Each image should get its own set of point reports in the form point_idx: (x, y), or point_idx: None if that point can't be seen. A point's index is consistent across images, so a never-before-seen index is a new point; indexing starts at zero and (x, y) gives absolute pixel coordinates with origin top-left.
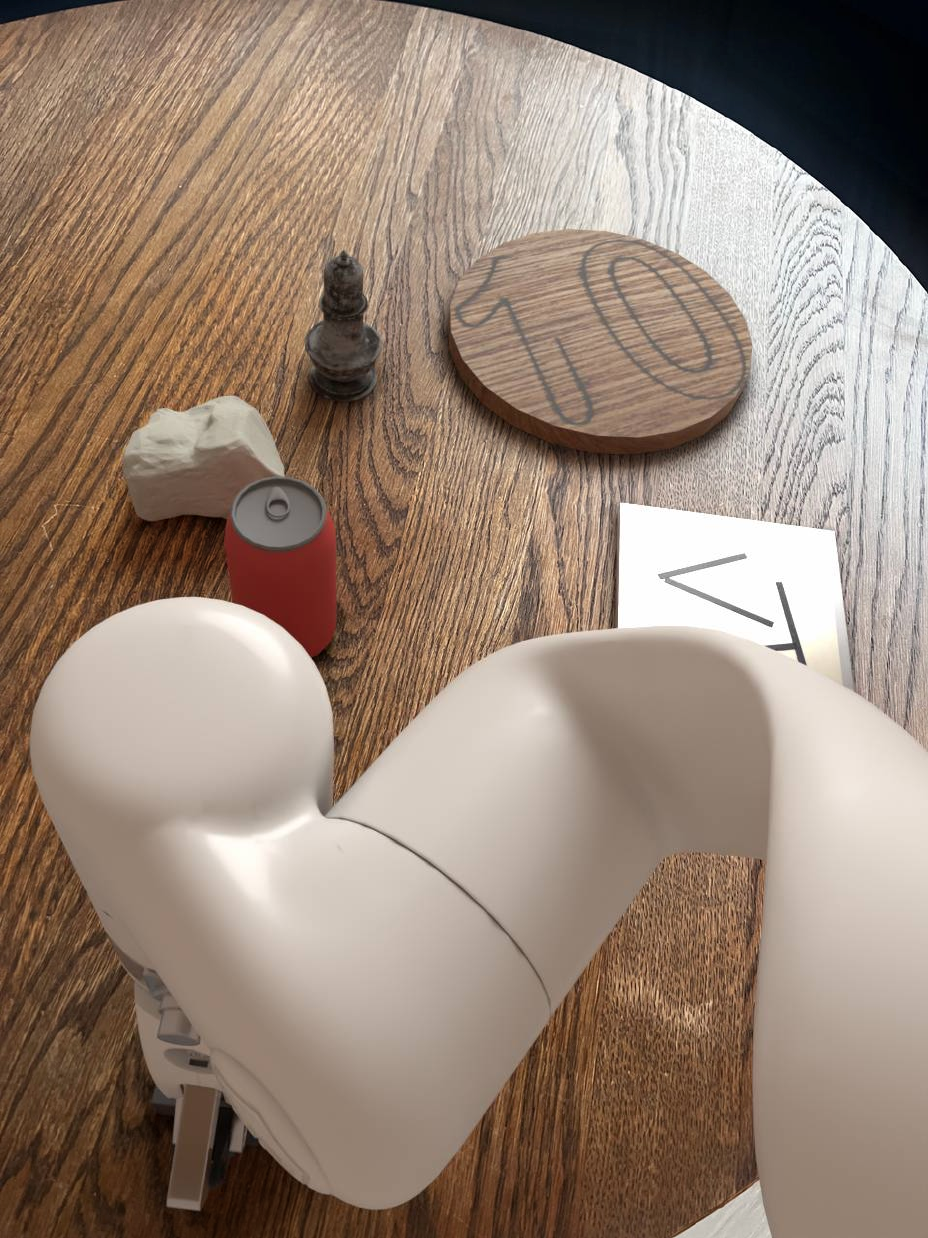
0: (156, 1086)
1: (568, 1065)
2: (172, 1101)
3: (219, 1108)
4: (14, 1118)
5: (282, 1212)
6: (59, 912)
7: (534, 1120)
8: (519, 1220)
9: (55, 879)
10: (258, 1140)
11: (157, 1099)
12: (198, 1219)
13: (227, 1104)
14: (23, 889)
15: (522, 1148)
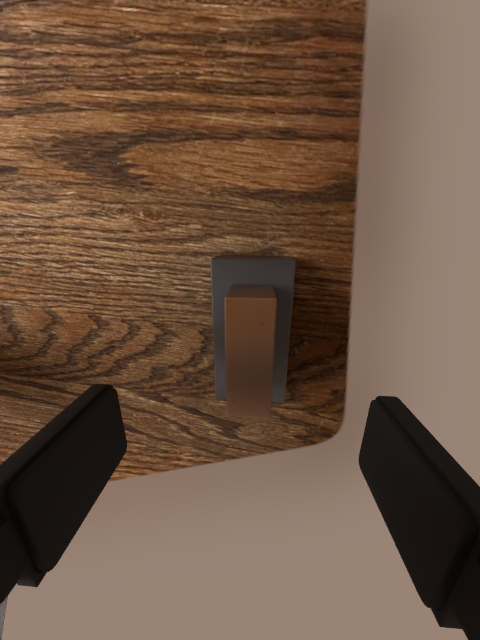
0: (273, 401)
1: (213, 41)
2: (282, 390)
3: (450, 571)
4: (287, 448)
5: (340, 298)
6: (174, 448)
7: (268, 79)
8: (355, 86)
9: (156, 453)
10: (399, 404)
11: (281, 399)
12: (343, 350)
13: (282, 356)
14: (166, 465)
15: (293, 91)
